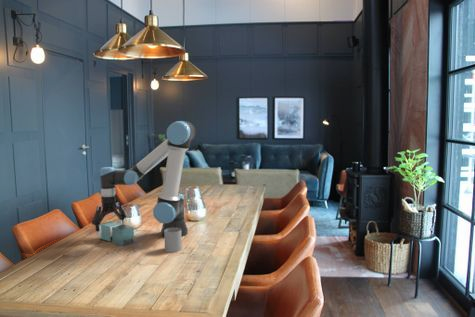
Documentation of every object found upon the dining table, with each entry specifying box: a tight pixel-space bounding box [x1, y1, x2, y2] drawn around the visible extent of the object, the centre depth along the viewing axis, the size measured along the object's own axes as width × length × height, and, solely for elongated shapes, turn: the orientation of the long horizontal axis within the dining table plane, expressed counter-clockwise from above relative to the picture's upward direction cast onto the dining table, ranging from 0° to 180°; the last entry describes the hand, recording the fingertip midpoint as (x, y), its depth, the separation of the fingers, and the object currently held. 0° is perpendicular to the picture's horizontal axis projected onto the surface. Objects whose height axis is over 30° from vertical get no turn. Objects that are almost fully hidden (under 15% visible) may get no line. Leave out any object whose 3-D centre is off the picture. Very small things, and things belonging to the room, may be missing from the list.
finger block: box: [99, 221, 120, 242], centre depth 218 cm, size 10×7×8 cm
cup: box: [163, 228, 183, 253], centre depth 200 cm, size 8×8×10 cm
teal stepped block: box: [110, 224, 135, 247], centre depth 215 cm, size 20×7×8 cm, turn 53°
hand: (110, 234), depth 218 cm, fingers open, 13 cm apart
